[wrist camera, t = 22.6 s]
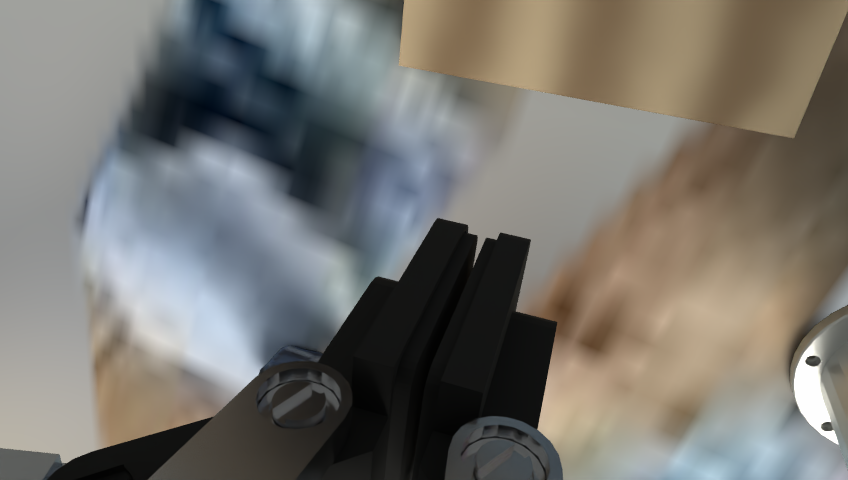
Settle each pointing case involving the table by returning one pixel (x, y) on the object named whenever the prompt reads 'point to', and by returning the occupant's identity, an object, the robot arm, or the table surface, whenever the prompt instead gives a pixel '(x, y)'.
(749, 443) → the table surface
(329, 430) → the robot arm
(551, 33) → the oak plank
